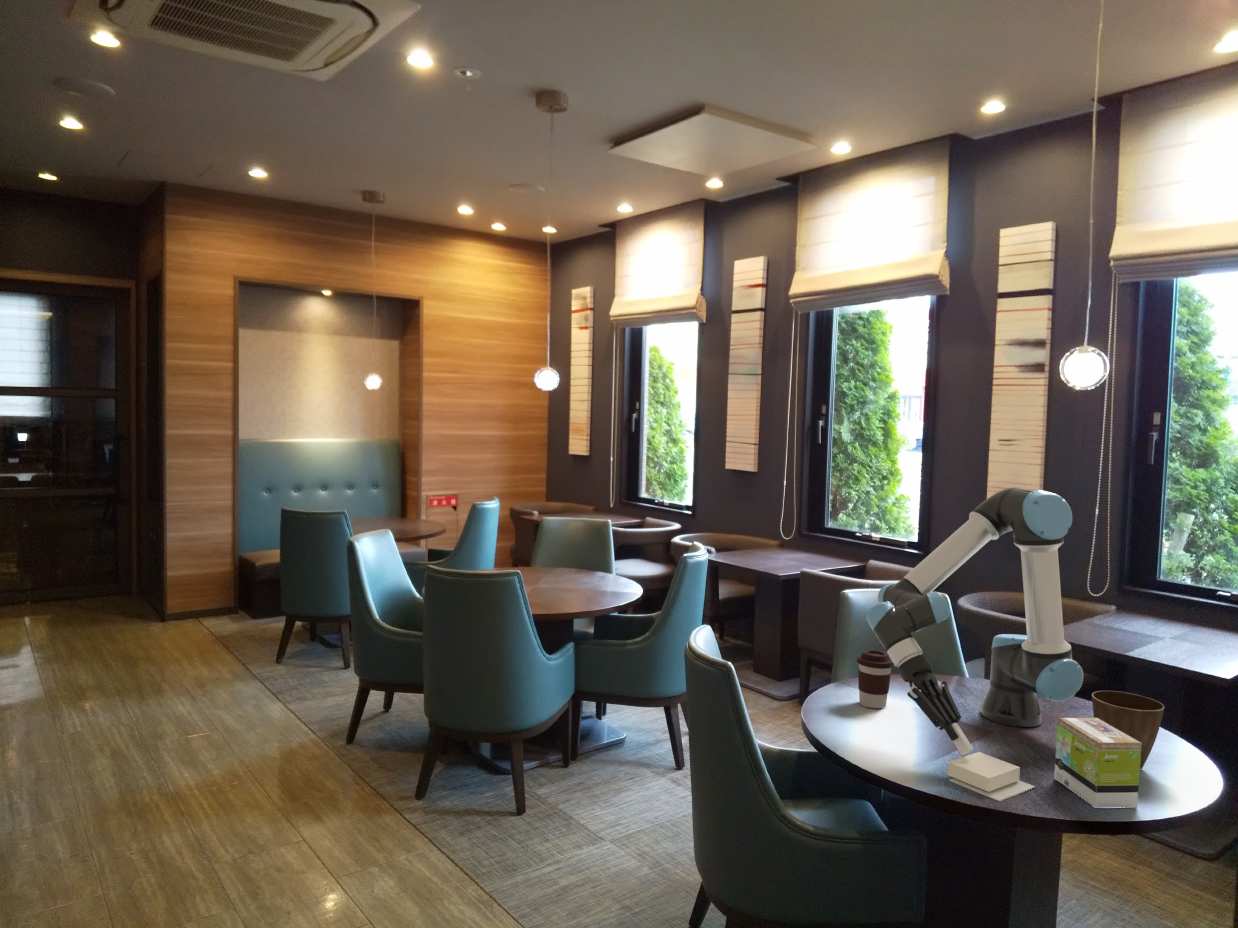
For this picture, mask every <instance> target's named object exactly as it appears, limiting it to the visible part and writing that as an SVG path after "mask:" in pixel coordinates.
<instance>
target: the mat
mask: <svg viewBox="0 0 1238 928" xmlns="http://www.w3.org/2000/svg"><path fill="white" fill-rule="evenodd" d="M949 782H951V783H953V784H956V785H958V786H961V787H963V788H965V789H968V790H970V791H973V792H975V793H978V794H980V795H983V796H985V797H986V798H990V799H992V800H994V801H997V802H999V803H1000V802H1002V801H1006V800H1008V799H1010V798H1013V797H1015V796H1018V795H1021V794H1023V793H1025V791H1026V792H1028V790H1029V791H1031V790H1033V789H1032V788H1034V789H1036V786H1035V785H1033V784H1029V783H1027V782H1025V781H1021V780H1020V779H1019V781H1016V782H1014V783H1011V784H1008V785H1006V786H1003V787H1000V788H998V789H995V790H992V791H990V792H988V791H985V790H982V789H980V788H977V787H975V786H973V785H970V784H968V783H965V782H963V781H961V780H958V779H956V778H953V777H952V778H950V779H949ZM1030 789H1031V790H1030ZM1020 793H1021V794H1020Z"/></svg>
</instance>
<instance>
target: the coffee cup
mask: <svg viewBox="0 0 1238 928" xmlns="http://www.w3.org/2000/svg"><path fill="white" fill-rule="evenodd" d="M856 663H857V664H858V668H857V669H858V670H857V676H858V677H857V678H858V679H857V682H858V683H857V684H858V685H857V686H858V687H857V688H858V690H859V704H860V705H861V706H862V707H865V708H868V709H874V710H877V709H878V710H879V709H884V708H886V706H887V701H888V694H889V691H890V684H891V677H892V676H891V675H892V671H891V669H892V668H893V667H894V663H893V662H892V660H891V658H890V657H889V655H888V653H887V652H886V651H881V650H877V649H875V650H874V649H872V650H871V649H866V650H864V651H863V652H862V653H861V654H858V655H857V656H856Z"/></svg>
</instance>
